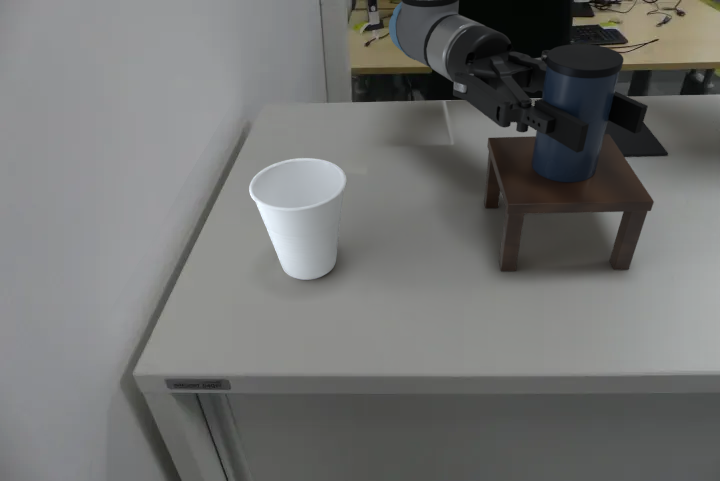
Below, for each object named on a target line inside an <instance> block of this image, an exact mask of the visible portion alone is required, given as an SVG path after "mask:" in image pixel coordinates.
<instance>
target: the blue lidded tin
mask: <svg viewBox="0 0 720 481" xmlns="http://www.w3.org/2000/svg"><path fill="white" fill-rule="evenodd" d="M546 64H547V68H546V74H545V81H544V87H543V92H542V95H541V99H542V100H544V101H546V102H548V103H549V104H551V105H553V106H555V107H557V108H559V109H561V110H563V111H564V112H566V113H568V114H570V115H572V116H574V117H576V118H578V119H580V120H581V121H583V122H585V123H587V124H589V127H588V131H587V136H586V140H585V145H584V149H583V151H581V152H578V153H576V152H575V151H573V150H571V149H570V148H568V147H566V146H565V145H563V144H561V143H560V142H558V141H556V140H554V139H553V138H551V137H549V136H548V135H546V134H543V133H540V132H538V131H537V130H535V136H536V138H535V144H534V150H533V157H532V167H533V169H534V170H535V172H537V173H538V174H539V175H541V176H543V177H545V178H547V179H550V180H554V181H558V182H580V181H584V180H587V179H589V178H591V177H592V176H593V175H594V174H595V171H596V168H597V163H598V159H599V155H600V151H601V147H602V143H603V139H604V134H605V130H606V126H607V122H608V118H609V114H610V110H611V105H612V101H613V97H614V93H615V91H616V88H617V85H618V80H619V76H620V72H621V70H622V68H623V66H624V56H623V55H622V54H621V53H620V52H618V51H617V50H614V49H612V48H609V47H605V46H602V45H596V44H586V43H576V44H575V43H573V44H564V45H560V46H556V47H554V48H552V49H550V51H549V53H548V55H547V61H546Z"/></svg>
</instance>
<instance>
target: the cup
mask: <svg viewBox="0 0 720 481" xmlns="http://www.w3.org/2000/svg"><path fill="white" fill-rule="evenodd" d="M347 180H348V178H347V176H346V173H345V171H344V170H343V169H342V168H341V167H340V166H338V165H337V164H336V163H334V162H331V161H328V160H326V159H322V158H316V157H315V158H314V157H296V158H290V159H284V160H281V161H278V162H275V163H272V164H270V165H268V166H266V167H264V168H263V169H261V170H260V171H258V172H257V173H256V175H254V176H253V178H252V179H251V181H250V183H249V187H248V190H249V195H250V197H251V199H252V200H253V201H254V202H255V205H256V206H257V209H258V212H259V214H260V216H261V218H262V222H263V223H264V226H265V229H266V230H267V234H268V236H269V238H270V240H271V243H272V246H273V248H274V250H275V253H276V256H277V258H278V260H279V263H280V265H281V267H282V270H283V272H284V273H286V274H287V276H289V277H291V278H294V279H297V280H303V281H308V280H309V281H310V280H316V279H319V278H321V277H324V276H325V275H327V274H329V273H330V272H331V271H332V270H333V269H334V267H335V265H336V263H337V256H338V245H339V238H340V236H339V235H340V226H341V217H342V209H343V198H344V191H345V188H346V185H347Z"/></svg>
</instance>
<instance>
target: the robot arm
mask: <svg viewBox="0 0 720 481" xmlns="http://www.w3.org/2000/svg"><path fill="white" fill-rule="evenodd" d="M459 4H460V0H401V1H400V2H399V3H398V4H397V5H396V6H395V8H393V9H394V10H393V12H392V14H391V16H390V19H389V22H388V33H389V37H390V40H391V42H392V44H394V46H395V47H396V48H398V49H399V51H401V52H402V53H404V55H405V56H406V57H408V58H409V59H411V60H414V61H417V62H419V63H421V64H422V65H425V66H426V67H428V68H429V69H430V70H432V71H433V72H436V73H438V74H439V75H441V76H442V77H444V78H446V79H447V80H449V81H451V83H452V82H453V86H452V87H453V89H452V95H453V96H454V97H456V98H459V99H461V100H464V101H466V102H468V104H470V105H472V107H474V108H475V109H476V110H478V111H479V112H480V113H482V114H483V115H484V116H486V117H487V118H488V119H490V120H491V121H492V122H493V123H495V125H497V126H499V127H500V128H510V127H511V125H512V124H511V123H516V129H515V131H516V132H518V133H527V132H528V131H529V127H530V128H531V129H533V130H535V131H538V132H540V133H543V134H546V135H548V136H549V137H551V138H553V139H554V140H556V141H558V142H560V143H561V144H563V145H565V146H566V147H568V148H570V149H571V150H573V151H575V152H576V153H578V152H581V151H583V149H584V145H585V140H586V136H587V131H588V127H589V124H587V123H585V122H583V121H581V120H580V119H578V118H576V117H574V116H572V115H570V114H568V113H566V112H564V111H563V110H561V109H559V108H557V107H555V106H553V105H551V104H549V103H548V102H546V101H544V100H542V98H539V99H536V100H534V104H533V100H532V99H531V98H530V96H529V95H528V94H527V93H531V94H534V93H537V92H539V91H540V92H542V93H543V87H544V81H545V74H546V68H547V64H546V61H547V55H548V53H549V51H550V50H551V49H550V50H549V49H545V50H542V51H541V56H540V57H531V56H530V55H529V54H525V53H522V52H519V51H516V50H515V48H514V46H513V44H512V42H511V40H510V39H509V37H508V36H507V35H506V34H504V33H503V32H500V31H497V30H495V29H493V28H491V27H488V26H486V25H485V24H482V23H480V22H478V21H476V20H473V19H470V18H468V17H466V16H464V15H461V14H459V9H460V8H459V6H460V5H459ZM526 92H527V93H526ZM532 104H533V105H532ZM647 111H648V105H646V104H645V103H642V102H641V101H638V100H636V99H634V98H631V97H630V96H627V95H626V94H625V95H624V94H623V93H620V92H618V91H616V90H615V93H614V97H613V101H612V105H611V110H610V114H609V118H608V120H609V121H611V122H613V123H615V124H617V125H619V126H621V127H623V128H625V129H627V130H629V131H631V132H633V133H638V132H641V128H642V125H643V122H644V121H645V118H646V114H647Z"/></svg>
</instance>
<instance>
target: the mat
mask: <svg viewBox="0 0 720 481" xmlns="http://www.w3.org/2000/svg"><path fill="white" fill-rule="evenodd" d="M605 134H609V135H610V136H611V138H612V139H613V141H614V142H615V144H616V145H617V147H618V148H619V150H620V151H621V153H622V154H623V156H624V157H625V158H626V157H627V158H628V157H629V158H630V157H664V156H665V157H666V156H667V157H668V156H669V151H667V149H666V148H665V147H664V146H663V144H662V143H661V142H660V141H659V140H658V138H657V137H656V135H654V133H653V132H652V130H651V129H650V128H649V127H648V126H647V124H646V123H645V122H644V121H643V125H642V128H641V132H638V133H633V132H631V131H629V130H627V129H625V128H623V127H621V126H619V125H617V124H615V123H613V122H611V121H609V120H608V122H607V126H606V130H605Z"/></svg>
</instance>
